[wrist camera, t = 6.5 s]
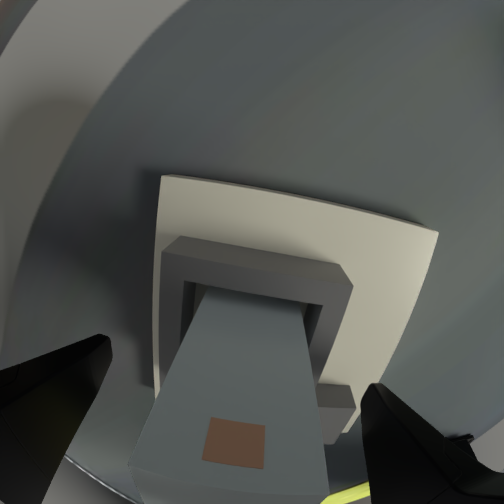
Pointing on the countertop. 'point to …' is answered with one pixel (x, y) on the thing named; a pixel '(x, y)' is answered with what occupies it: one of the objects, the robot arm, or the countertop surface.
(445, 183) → the countertop surface
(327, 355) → the board
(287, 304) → the plug
